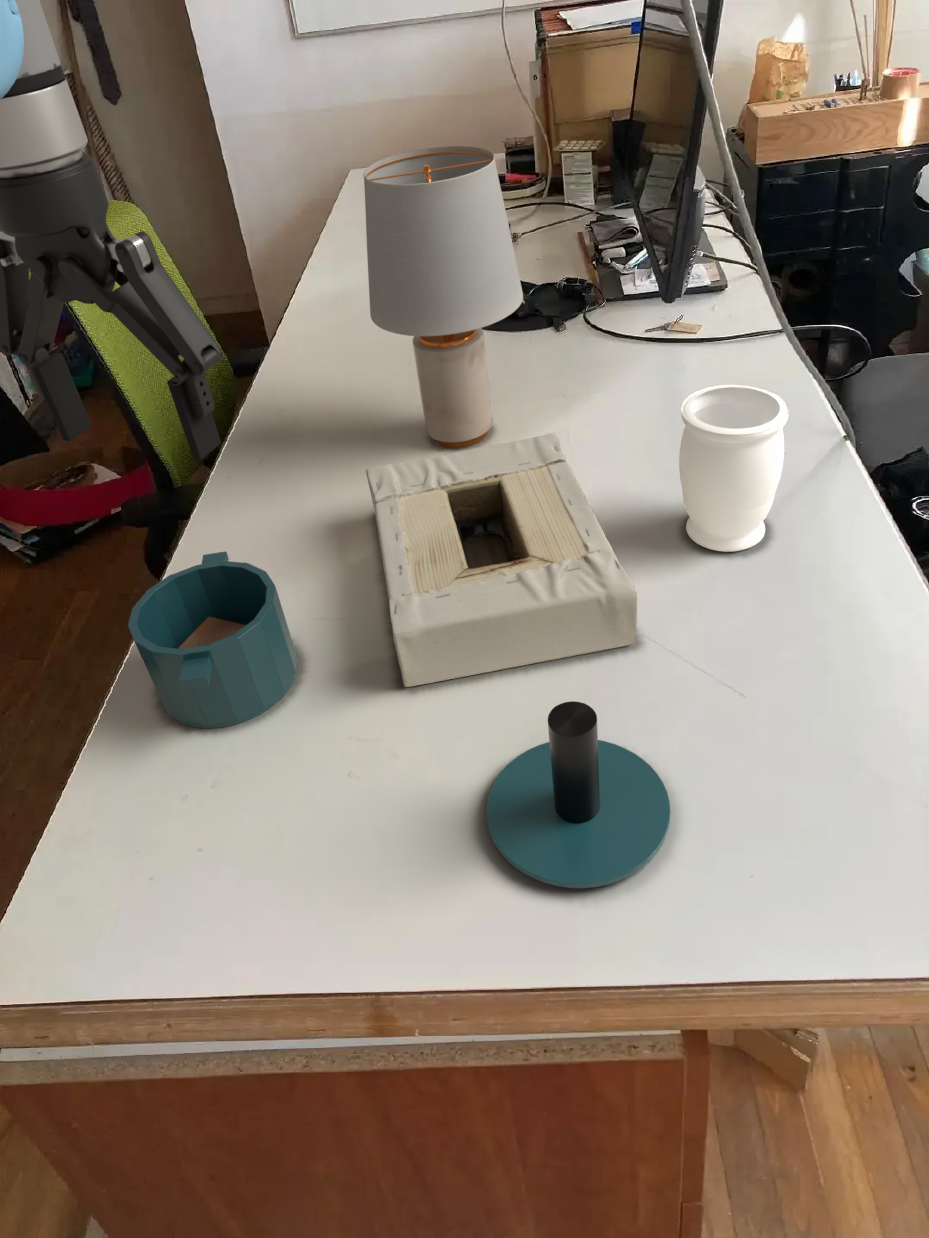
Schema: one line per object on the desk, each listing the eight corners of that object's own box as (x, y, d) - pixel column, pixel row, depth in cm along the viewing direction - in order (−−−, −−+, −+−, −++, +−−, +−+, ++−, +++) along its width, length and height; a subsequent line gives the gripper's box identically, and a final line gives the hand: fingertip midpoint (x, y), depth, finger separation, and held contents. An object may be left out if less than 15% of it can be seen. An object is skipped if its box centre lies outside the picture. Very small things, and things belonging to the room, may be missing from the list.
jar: (659, 519, 105) (662, 398, 96) (741, 495, 107) (751, 374, 98) (707, 569, 97) (715, 443, 88) (794, 543, 99) (811, 416, 90)
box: (642, 646, 90) (558, 479, 114) (642, 584, 85) (554, 422, 109) (406, 698, 88) (373, 517, 113) (392, 638, 83) (360, 462, 108)
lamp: (545, 455, 119) (527, 172, 97) (399, 480, 118) (349, 201, 97) (518, 391, 134) (497, 133, 112) (388, 413, 133) (342, 157, 111)
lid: (501, 907, 69) (486, 812, 62) (477, 761, 81) (463, 667, 73) (693, 876, 70) (700, 778, 62) (643, 735, 81) (644, 638, 74)
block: (193, 686, 92) (177, 648, 89) (222, 653, 95) (208, 616, 92) (233, 697, 90) (219, 659, 87) (262, 663, 93) (249, 625, 90)
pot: (147, 759, 85) (111, 685, 79) (175, 628, 100) (146, 557, 94) (294, 736, 85) (268, 660, 79) (300, 609, 100) (279, 536, 94)
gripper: (-137, 178, 64) (-4, 447, 78) (143, 178, 55) (239, 484, 69) (-53, 148, 69) (58, 406, 83) (217, 143, 60) (292, 435, 74)
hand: (140, 442), depth 76 cm, fingers open, 13 cm apart
